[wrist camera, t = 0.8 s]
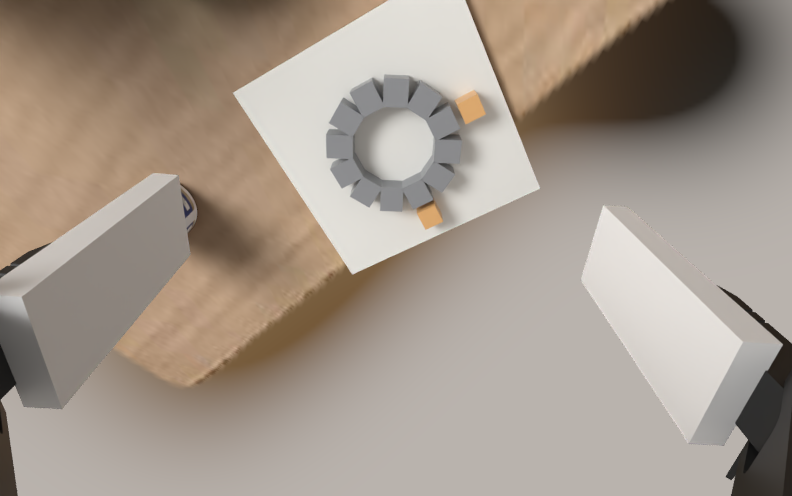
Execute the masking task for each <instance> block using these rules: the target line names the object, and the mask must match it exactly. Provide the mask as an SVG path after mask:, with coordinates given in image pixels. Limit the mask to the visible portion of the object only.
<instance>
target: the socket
mask: <svg viewBox="0 0 792 496" xmlns="http://www.w3.org/2000/svg"><path fill="white" fill-rule="evenodd" d="M233 94H234V96H235V97H236V99H237V100H238V102H239V103H240V105H241V106H242V108H243V109H244V111H245V112H246V114H247V115H248V117H249V118H250V120H251V121H252V123H253V124H254V126H255V127H256V129H257V130H258V132H259V133H260V135H261V136H262V138H263V139H264V141H265V143H266V144H267V146H268V147H269V149H270V150H271V152H272V153H273V155H274V156H275V158H276V159H277V161H278V162H279V164H280V165H281V167H282V168H283V170H284V171H285V173H286V174H287V176H288V177H289V179H290V180H291V182H292V183H293V185H294V186H295V188H296V189H297V191H298V193H299V194H300V196H301V197H302V199H303V200H304V202H305V203H306V205H307V206H308V208H309V209H310V211H311V212H312V214H313V215H314V217H315V218H316V220H317V221H318V223H319V224H320V226H321V227H322V229H323V230H324V232H325V233H326V235H327V236H328V238H329V240H330V241H331V243H332V244H333V246H334V247H335V249H336V250H337V252H338V253H339V255H340V256H341V258H342V259H343V261H344V262H345V264H346V265H347V267H348V268H349V270H350V271H351V273H352V274H354V273H356V272H359V271H361V270H363V269H365V268H367V267H370V266H372V265H374V264H376V263H378V262H381V261H383V260H385V259H387V258H389V257H391V256H394V255H396V254H398V253H400V252H403V251H405V250H407V249H409V248H411V247H414V246H416V245H418V244H420V243H422V242H425V241H427V240H429V239H431V238H433V237H435V236H438V235H440V234H442V233H444V232H446V231H449V230H451V229H453V228H455V227H457V226H460V225H462V224H464V223H466V222H468V221H470V220H473V219H475V218H477V217H479V216H481V215H484V214H486V213H488V212H490V211H492V210H495V209H497V208H499V207H501V206H503V205H506V204H508V203H510V202H512V201H514V200H517V199H519V198H521V197H523V196H525V195H528V194H530V193H532V192H534V191H536V190H539V189H540V186H539V184H538V182H537V179H536V176H535V174H534V172H533V169H532V166H531V164H530V161H529V159H528V156H527V154H526V152H525V149H524V146H523V144H522V141H521V139H520V136H519V134H518V131H517V129H516V126H515V124H514V121H513V119H512V116H511V114H510V111H509V109H508V106H507V104H506V101H505V99H504V96H503V94H502V91H501V89H500V86H499V84H498V81H497V79H496V76H495V74H494V71H493V69H492V66H491V64H490V61H489V59H488V56H487V54H486V51H485V49H484V46H483V44H482V41H481V39H480V36H479V34H478V31H477V29H476V26H475V24H474V21H473V19H472V16H471V14H470V11H469V9H468V6H467V4H466V1H465V0H388V1H386V2H385V3H383V4H381V5H380V6H378V7H376V8H375V9H373V10H371V11H370V12H368V13H366V14H365V15H363V16H361V17H360V18H358V19H356V20H355V21H353V22H351V23H349V24H348V25H346V26H344V27H343V28H341V29H339V30H338V31H336V32H334V33H333V34H331V35H329V36H328V37H326V38H324V39H323V40H321V41H319V42H317V43H316V44H314V45H312V46H311V47H309V48H307V49H306V50H304V51H302V52H301V53H299V54H297V55H296V56H294V57H292V58H291V59H289V60H287V61H286V62H284V63H282V64H280V65H279V66H277V67H275V68H274V69H272V70H270V71H269V72H267V73H265V74H264V75H262V76H260V77H259V78H257V79H255V80H254V81H252V82H250V83H248V84H247V85H245V86H243V87H242V88H240V89H238V90H237V91H235V92H233Z"/></svg>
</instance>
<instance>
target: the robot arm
mask: <svg viewBox="0 0 792 496" xmlns="http://www.w3.org/2000/svg"><path fill="white" fill-rule="evenodd" d="M190 255H191V254H190V247H189V241H188V234H187V228H186V221H185V214H184V208H183V201H182V195H181V188H180V181H179V175H172V174H158V173H153V174H151V175H150V176H148V177H147V178H145V179H144V180H142V181H141V182H139V183H138V184H137V185H135V186H134V187H132V188H131V189H129V190H128V191H126V192H125V193H124V194H122V195H121V196H119V197H118V198H116V199H115V200H113V201H112V202H110V203H109V204H108V205H106V206H105V207H103V208H102V209H100V210H99V211H97V212H96V213H94V214H93V215H92V216H90V217H89V218H87V219H86V220H84V221H83V222H81V223H80V224H79V225H77V226H76V227H74V228H73V229H71V230H70V231H68V232H67V233H65V234H64V235H63V236H61V237H60V238H58V239H57V240H55V241H54V242H52V243H49V244H47V245H44V246H42V247H39V248H37V249H34V250H32V251H29V252H27V253H26V254H24V255H23V256H21V257H20V258H18V259H17V260H15V261H14V262H12V263H11V265H10V266H6V267H5V268H3V269H2V270H0V496H18V495H17V488H16V481H15V473H14V466H13V460H12V453H11V446H10V438H9V431H8V424H7V417H6V412H5V409H4V407H3V405H2V403H1V399H2V397H3V396H4V395H6V393H8V392H9V390H10V389H12V387H14V386H16V389H17V391H18V394H19V396H20V398H21V401H22V403H23V406H24V407H35V408H53V409H63V407H64V406H65V405H66V404H67V403H68V401H69V400H70V399H71V398H72V396H73V395H74V394H75V393H76V392H77V390H78V389H79V388H80V387H81V386H82V384H83V383H84V382H85V381H86V380H87V379H88V377H89V376H90V375H91V374H92V372H93V371H94V370H95V369H96V368H97V366H98V365H99V364H100V363H101V362H102V360H103V359H104V358H105V357H106V356H107V354H108V353H109V352H110V351H111V350H112V348H113V347H114V346H115V345H116V344H117V342H118V341H119V340H120V339H121V338H122V336H123V335H124V334H125V333H126V332H127V330H128V329H129V328H130V327H131V326H132V324H133V323H134V322H135V321H136V320H137V318H138V317H139V316H140V315H141V314H142V312H143V311H144V310H145V309H146V307H147V306H148V305H149V304H150V303H151V301H152V300H153V299H154V298H155V297H156V295H157V294H158V293H159V292H160V291H161V289H162V288H163V287H164V286H165V285H166V283H167V282H168V281H169V280H170V279H171V277H172V276H173V275H174V274H175V273H176V271H177V270H178V269H179V268H180V267H181V265H182V264H183V263H184V262H185V261H186V259H187V258H188V257H189V256H190ZM581 281H582V282H583V284H584V286H585V287H586V289H587V290H588V292H589V293H590V295H591V296H592V298H593V299H594V301H595V302H596V304H597V306H598V307H599V309H600V310H601V312H602V313H603V315H604V316H605V318H606V319H607V321H608V322H609V324H610V325H611V327H612V328H613V330H614V331H615V333H616V334H617V336H618V337H619V339H620V340H621V342H622V343H623V345H624V346H625V348H626V349H627V351H628V353H629V354H630V356H631V357H632V359H633V360H634V362H635V363H636V364H637V366H638V368H639V369H640V371H641V372H642V374H643V375H644V377H645V378H646V380H647V381H648V383H649V384H650V386H651V387H652V389H653V390H654V392H655V394H656V395H657V397H658V398H659V399H660V401H661V403H662V404H663V406H664V407H665V409H666V410H667V412H668V413H669V415H670V416H671V418H672V419H673V421H674V422H675V424H676V425H677V427H678V428H679V430H680V431H681V433H682V434H683V436H684V437H685V439H686V441H687V442H688V443H689V444H701V445H719V446H724V444H725V443H726V441H727V439H728V438H729V436H730V434H731V433H732V430H733V429H734V427H735V426H736V425H737V426H738V427H739V429H740V430H741V431H742V432H743V434H744V435H745V436H746V437H747V439H748V441H747V443H746V444H745V446H744V448H743V449H742V451H741V453H740V454H739V456H738V457H737V459H736V461H735V462H734V464H733V465H732V467H731V469H730V470H729V472H728V474H727V475H726V477H727V478H729V479H730V480H732V479H733V478H734V477H735V480H734V485H733V489H732V494H731V496H792V344H791V343H790V342H789V341H788V340H787V339H786V338H784V337H783V336H782V335H781V334H780V333H779V332H778V331H776V330H775V329H774V328H773V327H772V326H771V325H770V324H768V323H765V320H764V319H763V318H761V317H760V316H759V315H758V314H757V313H755V312H752V309H751V308H750V307H749V306H748V305H746V304H745V303H744V302H743V301H742V300H741V299H739V298H738V297H737V296H735V295H733V294H732V293H730V292H728V291H726V290H725V289H723V288H721V287H719V286H717V285H715V284H714V283H713V282H712V281H711V280H710V279H709V278H707V277H706V276H705V275H704V274H703V273H702V272H701V271H700V270H698V269H697V268H696V267H695V266H694V265H693V264H691V263H690V262H689V261H688V260H687V259H686V258H685V257H684V256H683V255H682V254H680V253H679V252H678V251H677V250H676V249H675V248H674V247H672V246H671V245H670V244H669V243H668V242H667V241H666V240H665V239H663V238H662V237H661V236H660V235H659V234H658V233H657V232H656V231H654V230H653V229H652V228H651V227H650V226H649V225H648V224H647V223H645V222H644V221H643V220H642V219H641V218H639V216H637V215H636V214H635V213H634V212H633V211H632V210H631V209H630V208H628V207H625V206H609V205H603V208H602V211H601V215H600V218H599V221H598V225H597V228H596V231H595V234H594V238H593V241H592V244H591V248H590V251H589V254H588V257H587V261H586V264H585V267H584V271H583V274H582V277H581Z"/></svg>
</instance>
